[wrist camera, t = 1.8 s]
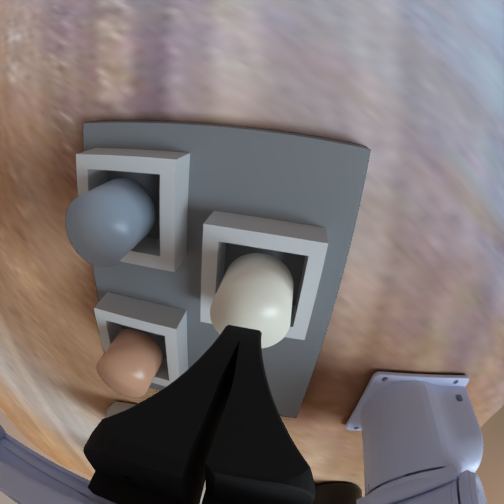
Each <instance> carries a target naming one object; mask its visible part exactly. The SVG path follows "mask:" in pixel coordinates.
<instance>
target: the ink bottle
mask: <svg viewBox="0 0 504 504" xmlns="http://www.w3.org/2000/svg"><path fill="white" fill-rule="evenodd" d="M359 498H362V490H361V489H360V488H359V487H358V486H356V485H354V484H350V483H324V484H317V485H315V500H314V502H313V503H312V504H357V499H359Z"/></svg>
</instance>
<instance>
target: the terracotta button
mask: <svg viewBox="0 0 504 504" xmlns="http://www.w3.org/2000/svg"><path fill="white" fill-rule="evenodd" d="M162 361H163V353H162V350H161V348H160V347H159V345H158V344H157V343H156V342H155V340H153V339H152V338H151V337H150V336H148V335H147V334H145V333H143V332H141V331H138V330H135V329H124V330H122V331H120V332H119V334H118V335H117V336H116V338H115V339H114V340H113V342H112V343H111V345H110V346H109V347H108V349H107V350H106V352H105V353H104V355H103V356H102V357H101V359H100V360H99V362H98V363H97V371H98V374H99V375H100V377H101V379H102V380H103V381H104V382H105V383H106V384H107V385H108V386H109V387H110V388H112V389H113V390H114V391H116V392H118V393H120V394H122V395H124V396H127V397H131V398H140V397H143V396H144V395H145V394H146V392H147V390H148V388H149V386H150V384H151V383H152V381H153V379H154V377H155V375H156V373H157V371H158V369H159V367H160V365H161V363H162Z"/></svg>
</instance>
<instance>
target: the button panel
mask: <svg viewBox="0 0 504 504" xmlns="http://www.w3.org/2000/svg"><path fill="white" fill-rule="evenodd" d="M83 149H84V152H81V153H78V154H76V171H77V189H78V196H80V195H82V194H84V193H86V192H88V191H90V190H92V189H94V188H96V187H98V186H100V185H102V184H104V183H106V182H108V181H110V180H112V179H115V178H120V177H124V178H129V179H132V180H134V181H136V182H138V183H139V184H140V185H142V186H143V187H144V188H145V189H146V191H147V192H148V193H149V195H150V197H151V199H152V201H153V205H154V209H155V220H154V224H153V227H152V229H151V231H150V232H149V234H148V235H147V236H146V237H144V238H143V239H142V240H141V241H140V242H139V243H138V244H137V245H136V246H135V247H134V248H133V249H132V250H131V251H129V252H128V253H127V254H126V255H125V256H124V257H123V258H122V259H121V260H120V261H119V262H118V263H116V264H115V265H112V266H109V267H99V266H96V265H93V270H94V276H95V282H96V288H97V294H98V300H99V302H98V303H97V304H96V306H95V307H94V312H95V316H96V321H97V325H98V330H99V334H100V338H101V342H102V346H103V350H104V353H105V352H106V350H107V349H108V347H109V346H110V345H111V343H112V342H113V340H114V339H115V338H116V336H117V335H118V334H119V332H120V331H122V330H124V329H135V330H138V331H141V332H143V333H145V334H147V335H148V336H150V337H151V338H152V339H153V340H155V342H156V343H157V344H158V345H159V347H160V348H161V350H162V353H163V361H162V363H161V365H160V367H159V369H158V371H157V373H156V375H155V377H154V379H153V381H152V383H151V384H150V386H149V387H151V388H154V389H158V390H162V389H164V388H165V387H166V386H168V385H169V384H171V383H172V382H173V381H175V380H176V379H177V378H178V377H180V376H181V375H182V374H183V373H184V372H186V371H187V370H188V369H189V368H190V367H191V366H192V365H193V364H194V363H195V362H196V361H197V360H198V359H199V358H200V357H201V356H202V355H203V354H204V353H205V352H206V351H207V350H208V349H209V348H210V346H211V345H212V344H213V343H214V342H215V340H216V339H217V338H218V337H219V335H220V334H219V333H218V332H217V331H216V330H215V328H214V326H213V324H212V322H211V318H210V307H211V304H212V302H213V299H214V297H215V295H216V293H217V291H218V288H219V286H220V284H221V282H222V280H223V278H224V275H225V273H226V271H227V269H228V267H229V266H230V264H231V263H232V262H233V261H234V260H235V259H237V258H239V257H240V256H243V255H245V254H249V253H264V254H268V255H271V256H273V257H275V258H277V259H279V260H280V261H281V262H283V263H284V264H285V265H286V266H287V268H288V269H289V271H290V272H291V275H292V277H293V283H294V287H293V299H292V310H291V321H290V327H289V330H288V332H287V334H286V335H285V337H284V338H283V339H282V340H281V341H279V342H278V343H276V344H275V345H273V346H270V347H267V348H262V357H263V363H264V368H265V373H266V377H267V381H268V384H269V388H270V391H271V394H272V397H273V400H274V403H275V405H276V408H277V410H278V413H279V415H280V416H285V417H293V418H296V417H297V415H298V412H299V409H300V407H301V404H302V401H303V399H304V396H305V393H306V390H307V388H308V385H309V382H310V379H311V376H312V373H313V370H314V367H315V364H316V362H317V359H318V356H319V352H320V349H321V346H322V343H323V340H324V337H325V334H326V331H327V327H328V324H329V321H330V317H331V314H332V311H333V307H334V304H335V300H336V297H337V293H338V290H339V286H340V283H341V279H342V275H343V272H344V268H345V264H346V260H347V256H348V252H349V248H350V244H351V240H352V236H353V232H354V228H355V224H356V219H357V215H358V211H359V206H360V201H361V197H362V192H363V187H364V182H365V177H366V172H367V167H368V162H369V157H370V151H371V149H369V148H368V147H366V146H363V145H359V144H354V143H349V142H344V141H338V140H333V139H328V138H322V137H316V136H310V135H304V134H297V133H290V132H283V131H276V130H268V129H260V128H252V127H242V126H232V125H221V124H209V123H194V122H175V121H139V120H114V121H94V122H88V123H84V124H83Z"/></svg>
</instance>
